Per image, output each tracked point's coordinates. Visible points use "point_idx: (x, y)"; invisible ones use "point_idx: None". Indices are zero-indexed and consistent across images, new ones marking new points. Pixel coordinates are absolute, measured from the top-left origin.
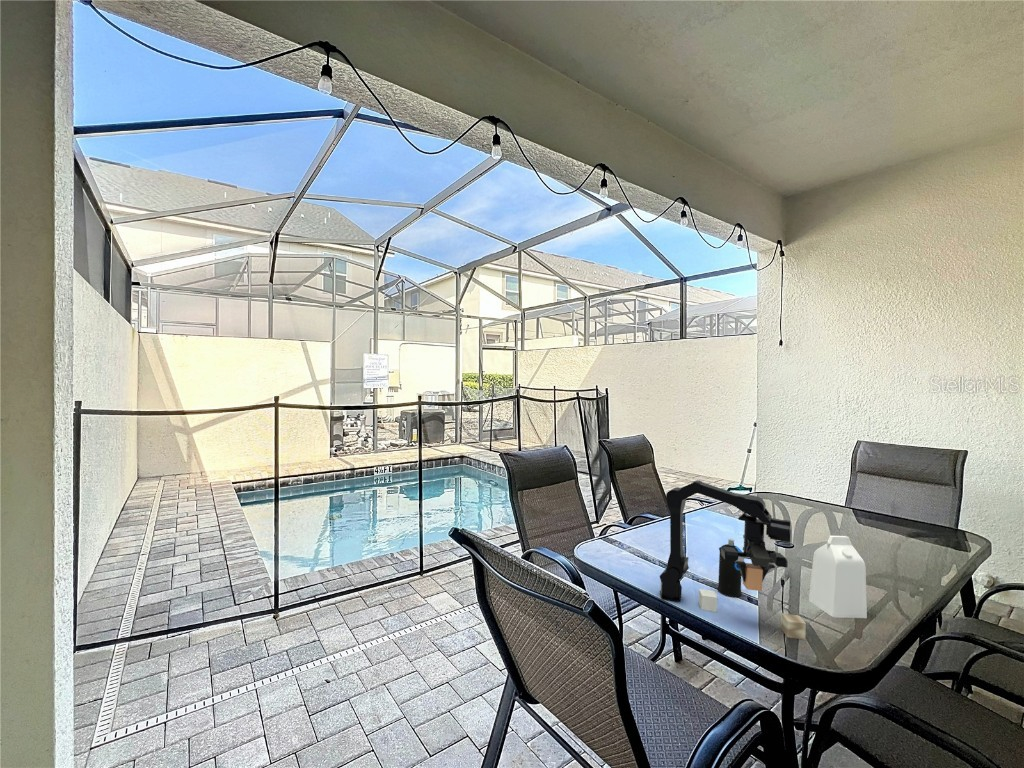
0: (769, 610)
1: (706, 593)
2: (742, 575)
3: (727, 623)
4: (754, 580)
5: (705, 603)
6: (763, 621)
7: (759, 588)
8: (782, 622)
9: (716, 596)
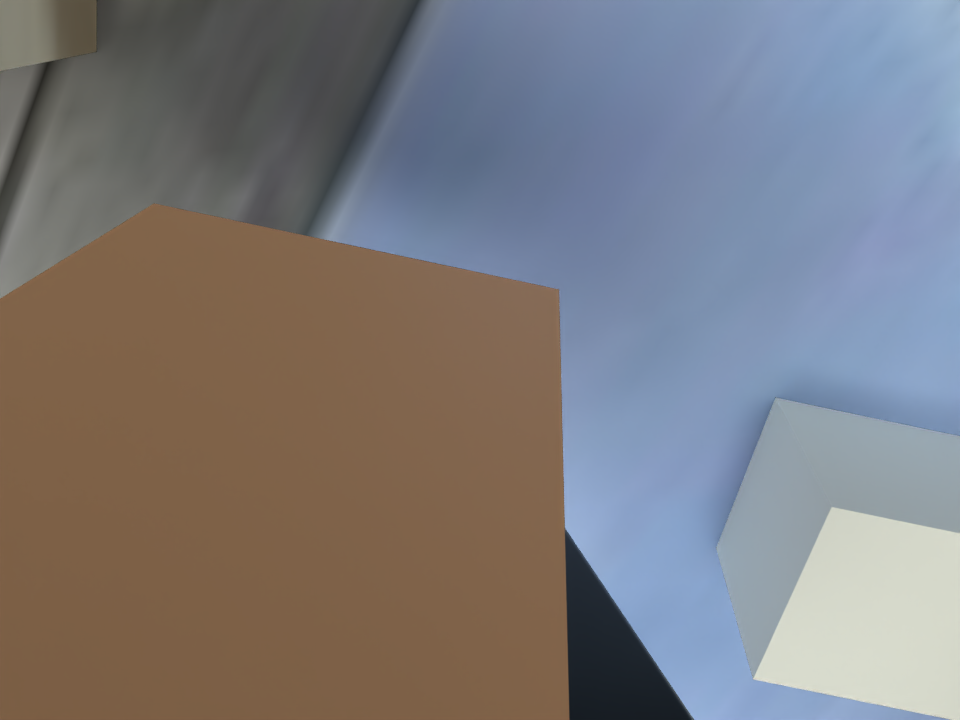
0: None
1: (934, 613)
2: (643, 666)
3: (818, 114)
4: (282, 376)
5: (954, 477)
6: (260, 212)
7: (194, 243)
8: (37, 9)
9: (825, 538)
